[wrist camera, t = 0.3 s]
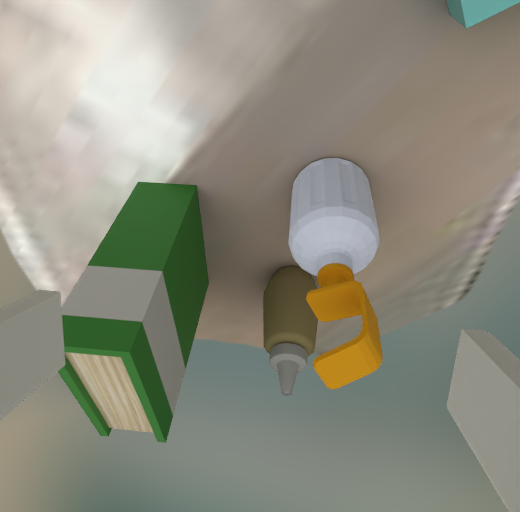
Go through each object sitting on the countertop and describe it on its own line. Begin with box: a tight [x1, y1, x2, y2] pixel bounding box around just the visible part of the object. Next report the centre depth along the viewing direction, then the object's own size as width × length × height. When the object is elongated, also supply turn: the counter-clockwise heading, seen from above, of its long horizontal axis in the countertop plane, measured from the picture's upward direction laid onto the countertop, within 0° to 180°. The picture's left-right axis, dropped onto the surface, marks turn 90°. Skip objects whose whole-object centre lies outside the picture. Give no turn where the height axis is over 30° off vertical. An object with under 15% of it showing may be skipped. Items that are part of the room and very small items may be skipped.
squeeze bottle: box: [263, 266, 318, 395], centre depth 51 cm, size 8×8×18 cm
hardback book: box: [58, 182, 209, 442], centre depth 45 cm, size 18×7×24 cm, turn 0°
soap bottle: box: [288, 158, 382, 389], centre depth 37 cm, size 9×9×25 cm
